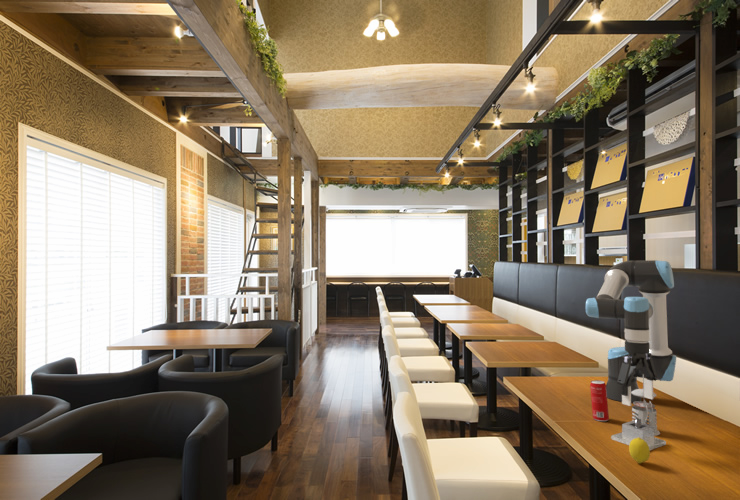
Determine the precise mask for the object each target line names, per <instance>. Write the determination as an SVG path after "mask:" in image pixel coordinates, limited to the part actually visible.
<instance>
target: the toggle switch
mask: <svg viewBox="0 0 740 500" xmlns="http://www.w3.org/2000/svg"><path fill="white" fill-rule="evenodd" d="M634 420H635V427H638V428H641V419H634ZM610 439H611V440H613V441H615V442H619V443H622V444H624V445H627V446H629V445H630V442H631V441H632V440H630V439H627V438H624V437H622V431H621V432H618V433H616V434H612V435H611V437H610ZM647 444H648V446H649V450H650V451H652V450H655V449H658V448H660V447H663V446H666V445H667V441H666V440H664V439H661V438H657V437H656V436H654V440H653V441H650V442H647Z"/></svg>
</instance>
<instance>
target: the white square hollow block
mask: <svg viewBox="0 0 740 500" xmlns="http://www.w3.org/2000/svg"><path fill="white" fill-rule="evenodd" d="M621 432H622V437H624V438H627V439H630V440H633V439H635V438H638V437H640V438H641V439H643V440H644V441H645V442H646V443H647V442H650V441H653V440H654V437H655V436H654V427H653V426H649V425H646V424H643V423H641V428H638V427H635V421H632V420H631V421H628V422H624V423H622V424H621Z"/></svg>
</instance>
